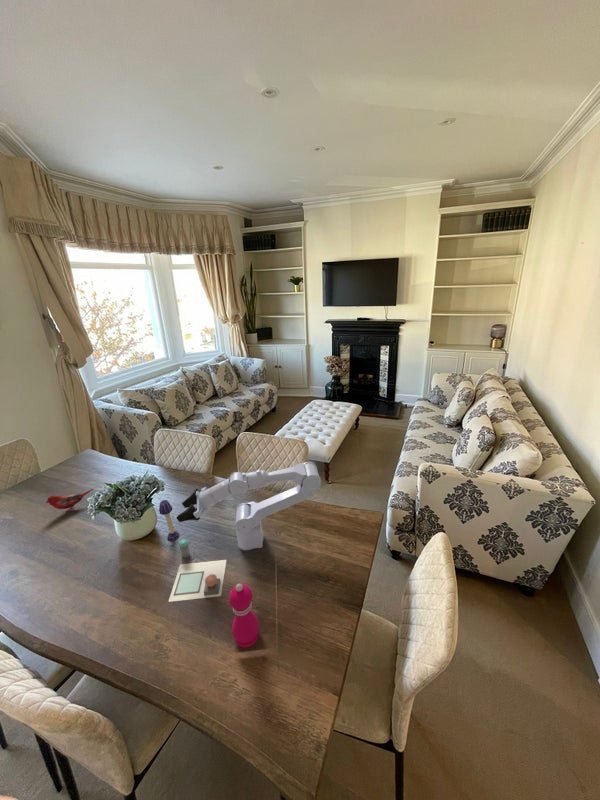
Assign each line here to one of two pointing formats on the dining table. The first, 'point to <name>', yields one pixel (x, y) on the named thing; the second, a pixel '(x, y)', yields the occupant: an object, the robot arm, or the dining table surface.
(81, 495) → the decorative bird figurine
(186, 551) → the salt shaker
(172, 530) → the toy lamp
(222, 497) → the robot arm
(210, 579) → the button
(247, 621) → the pepper mill
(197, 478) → the dining table surface
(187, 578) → the board
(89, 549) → the dining table surface
